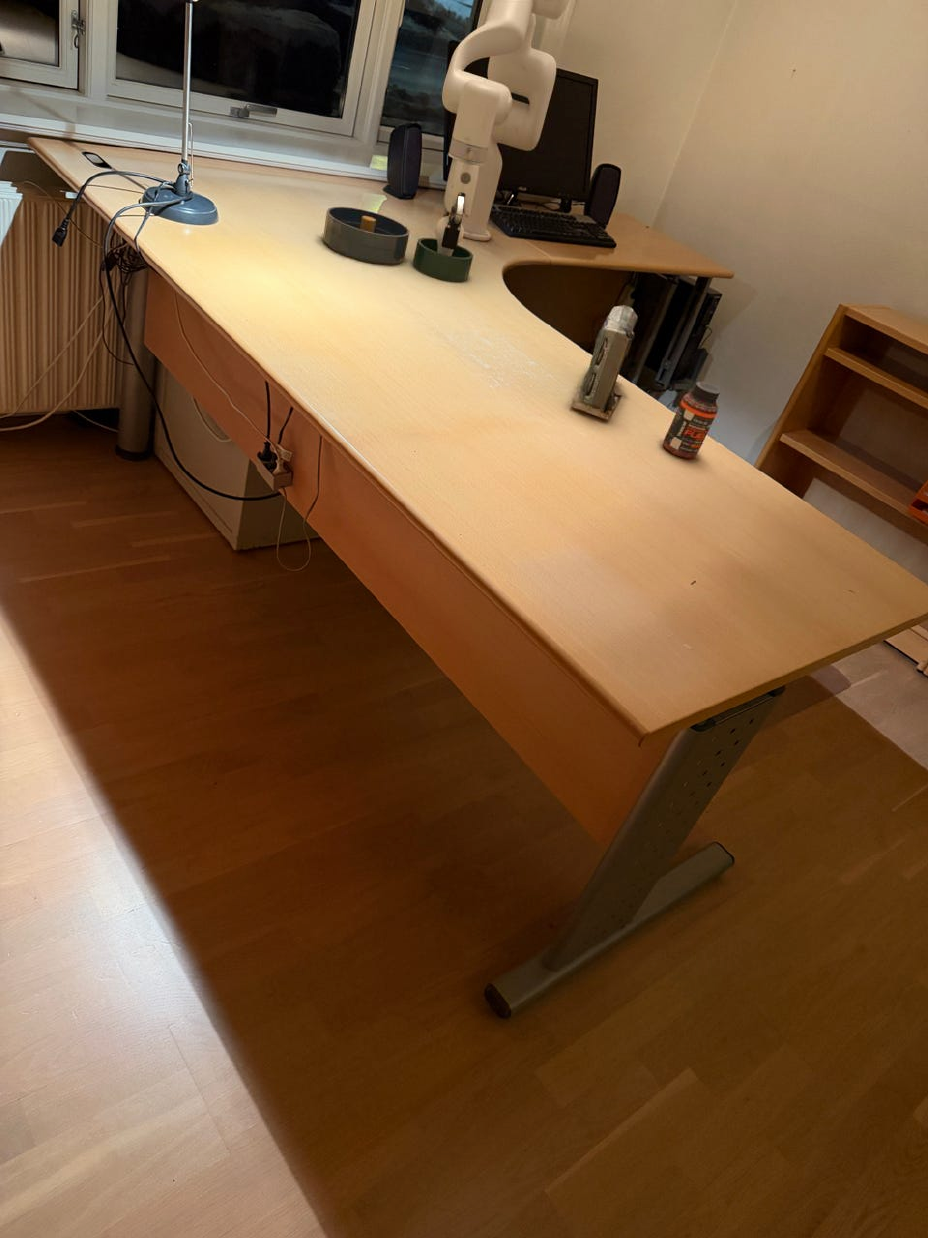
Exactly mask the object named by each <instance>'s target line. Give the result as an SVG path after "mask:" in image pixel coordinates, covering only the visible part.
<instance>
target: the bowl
mask: <svg viewBox="0 0 928 1238" xmlns="http://www.w3.org/2000/svg"><path fill="white" fill-rule="evenodd" d="M362 216H368V217H372V218H374V219H376V223H375V229H374V233H372V232H368V231H364V230H361V229H360V226H361V221H362ZM324 220H325V221H324V226H323V227H324V228H323V233H322V234H323V235H322V239H323V242H324V243H325V244H326V245H327V246H328V247H329V248H331V250H333V251H335V252H337V253H339V254H341V255H344V256H346V257H349V258H352V259H355V260H358V261H362V262H365V263H371V264H376V265H395V264H398V263H401V262H403V261H404V260H405V257H406V254H407V253H406V252H407V248H408V242H409V238H410V233H411V231H410V229H409V228H408V227H407V226H405V224H403V223H402V222H400V221H398V220H395V218H391V217H388V216H386V215H384V214H380V213H378V212H374V211H370V210H366V209H362V208H356V207H349V206H332V207H329V208H328V209H327V210H326V214H325V219H324Z"/></svg>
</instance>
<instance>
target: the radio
mask: <svg viewBox="0 0 928 1238" xmlns="http://www.w3.org/2000/svg"><path fill="white" fill-rule="evenodd" d="M638 320H639V319H638V315H637V313H636V312H635V310H634V309H633V308H632V307H630V306H628V305H626V304H623V305H617V306H613V307H612V309H611V310H610V312H609V314H608V315H607V317H606V320H605V321H604V323H603V325H602V326H601V328H600V330H599V332H598V334H597V337H596V340H595V346H594V349H593V352H592V353H593V354H592V356H591V359H590V361H589V362H590V363H589V367H588V369H587V371H586V373H585V374H584V377H583V381H582V383H581V385H580V387H579V388H578V390H577V391H576V392H575V394H574V395H573V398H572V402H571V408H574V409H576V410H580V411H583V412H585V413H588V414H590V415H593V416H596V417H599V418H601V419H604V420H608V421H609V420H610V418H611V416H612V414H613V413H614V411H615V410H616V407H617V406H618V404H619V402H620V400H621V398H622V397H623V393H622V391H620V390H619V389H618V387H617V386H618V384H619V383H618V382H617V380H618V377H619V374H620V371H621V368H622V366H623V363H624V361H625V358H626V357H627V356H628V354H629V352H630V349H631V347H632V342H633V340H634V339H635V332H634V328H635V326H636V324H637V322H638Z"/></svg>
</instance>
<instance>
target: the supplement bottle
mask: <svg viewBox="0 0 928 1238" xmlns="http://www.w3.org/2000/svg"><path fill="white" fill-rule="evenodd" d="M720 394H721V390H720V389H719V388H717V387H716V386H715V385H712V384H710V383H708V382H704V381H697V382H696V383H695V385H694V387H693V388H692V391H691V392H688V393H686V394H685V395H683V396H682V399H681V401H680V403H679V405H678V407H677V409H676V412H675V414H674V417H673V419H672V421H671V423H670V425H669V428H668V430H667V432H666V434H665V436H664V438H663V442H662V443H663V446H664V447H665V449H666V450H667V451H668V452H670V453H671V454H673V455H675V456H677V457H680V458H685V459H692V458H696V456H697V455H698V453H699V452H700V449H701V448H702V446H703V445H704V444H703V443H704V441H705V439H706V437H707V435H708V434H709V431H710V428H711V427H712V424H713V422H714V420H715V418H716V416H717V414H718V411H719V405H718V403H717V401H718V399H719V396H720Z"/></svg>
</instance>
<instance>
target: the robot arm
mask: <svg viewBox="0 0 928 1238" xmlns="http://www.w3.org/2000/svg"><path fill="white" fill-rule="evenodd" d="M569 3H570V0H491V3H490V6H489V9H488V13H487V16H486V19H485V23H484V24H483V25H481V26H480V27H478V28H476V29H475V30H473V31H472V32H470V33H469V34H468V35H467V36H465V38H464V39H463V40H461V42H460V43H459V44H458V46H457V47H456V49H455V50H454V52H453V54H452V56H451V60H450V62H449V66H448V69H447V73H446V74H445V75H446V76H445V78H444V82H443V87H442V92H441V101H442V104H443V106H444V108H445V109H446V110H447V111H448V112H450V113H453V114H456V117H455V122H454V127H453V131H452V137H451V140H450V145H449V150H448V153H447V155H448V157H450V158H452V161H451V164H450V168H449V173H448V177H447V181H446V186H445V192H444V198H443V203H444V206H445V208H444V211H443V214H442V216H443V217H445V216H449V217H448V223H447V227H446V226H445V230H444V235H443V239H442V243H441V246H442V247H444V248H448V249H452V250H455V249H456V247H457V242H458V238H459V234H460V228H461V223H462V225H463V229H464V234H463V238H466V239H470V240H474V241H483V242H484V241H485V242H486V241H489V240H490V239H491V233H490V232H489V231H488V230H487V227H488V223H489V221H490V220H489V219H490V215H491V212H492V207H493V204H494V201H495V196H496V193H497V188H498V185H499V181H500V176H501V173H502V168H503V159H502V154H501V152H500V150H499V146H498V144H503V145H504V146H505V145H506V146H509V147H511V148H516V149H519V150H522V151H525V152H527V151H528V152H529V151H532V150H534V149H535V148H536V147H537V145H538V143H539V141H540V138H541V135H542V132H543V131H542V130H543V128H544V124H545V119H546V116H547V112H548V108H549V104H550V100H551V96H552V93H553V90H554V85H555V81H556V76H557V63H556V59H555V58H554V57H553V56H552V55H551V54H550V53H547V52H545V51H541V50H538V49H536V48H532V41H533V37H534V33H535V29H536V24H537V19H536V16H537V15H538V16H539V17H543V18H547V19H549V20H558V19H560V18H561V16H562V15H563V13H564V12H565V10H566V8H567V6H568V4H569ZM485 58H489V61H488V67H487V78H485V77H483V76H479V75H476V74H473V73H470V72H467V71H464V70H465V69H466V67H468V66H469V65H470V64H471V63H473V62H475V61H478V60H480V59H485ZM512 94H515V95H519V96H522V97H525V98H527V99H528V102H529V104H528V103H525V102H523V101H519V100H516V99H514V98H513V97H512ZM452 216H454V217H453V218H452ZM443 217H442V218H443Z"/></svg>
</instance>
